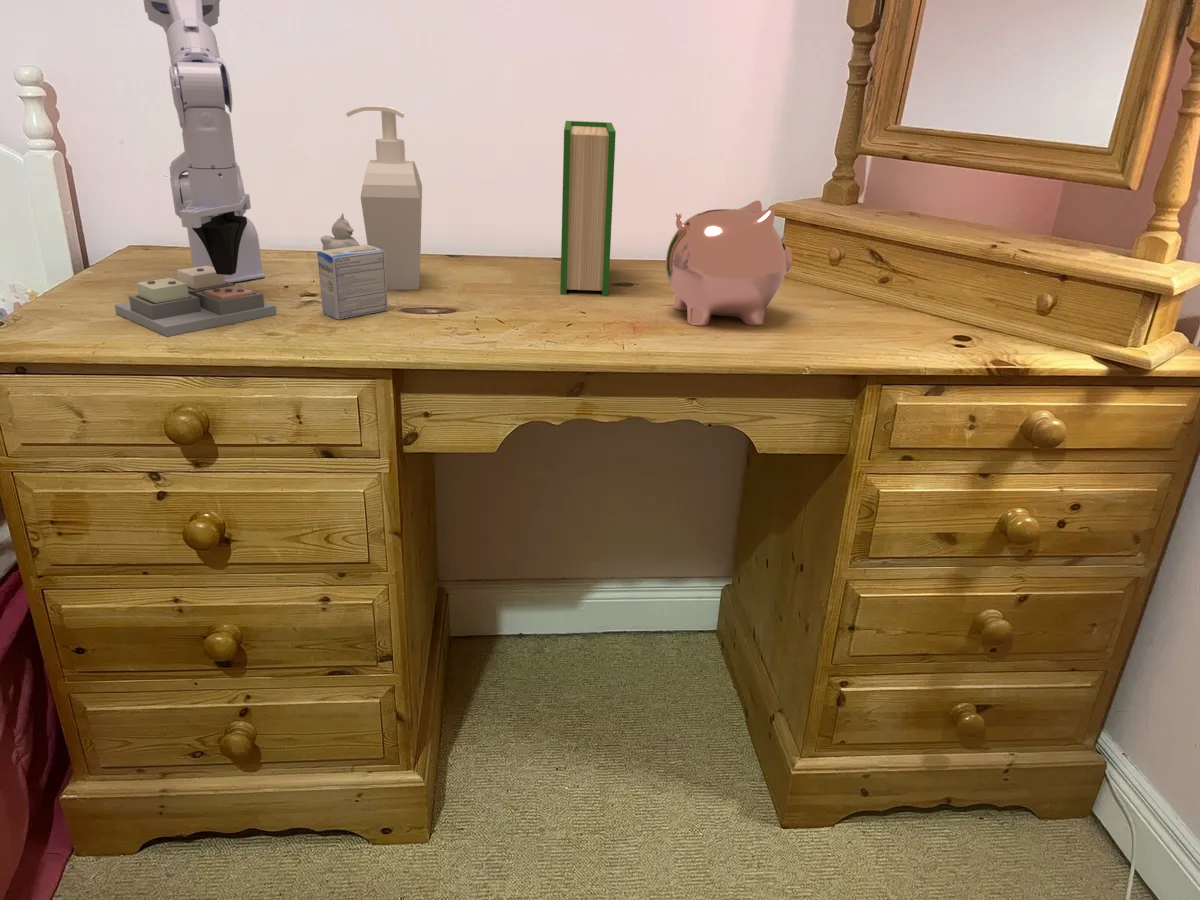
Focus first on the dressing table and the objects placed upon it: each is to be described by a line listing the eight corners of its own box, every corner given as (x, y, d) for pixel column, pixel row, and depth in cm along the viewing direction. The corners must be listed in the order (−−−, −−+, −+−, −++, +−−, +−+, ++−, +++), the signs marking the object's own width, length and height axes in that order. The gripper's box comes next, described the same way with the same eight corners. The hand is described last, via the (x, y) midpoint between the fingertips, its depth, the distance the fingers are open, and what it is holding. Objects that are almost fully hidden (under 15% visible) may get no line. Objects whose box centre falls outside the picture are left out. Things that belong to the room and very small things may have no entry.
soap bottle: (362, 273, 143) (350, 102, 132) (425, 274, 144) (418, 105, 133) (355, 293, 131) (341, 108, 121) (423, 293, 133) (416, 110, 122)
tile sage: (172, 291, 117) (170, 276, 116) (188, 297, 114) (186, 282, 114) (138, 296, 114) (136, 281, 113) (155, 303, 111) (152, 287, 111)
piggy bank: (801, 330, 123) (817, 213, 117) (676, 331, 120) (685, 212, 114) (764, 301, 137) (777, 196, 130) (652, 302, 134) (659, 194, 127)
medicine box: (372, 304, 126) (368, 243, 123) (389, 311, 123) (385, 249, 120) (321, 313, 121) (315, 250, 117) (338, 321, 118) (332, 256, 115)
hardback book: (608, 296, 136) (615, 131, 126) (560, 294, 136) (564, 129, 126) (605, 270, 152) (611, 122, 142) (562, 268, 152) (565, 120, 142)
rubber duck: (354, 263, 149) (351, 215, 146) (316, 261, 149) (312, 213, 146) (365, 257, 154) (361, 210, 151) (328, 255, 154) (324, 208, 151)
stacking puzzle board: (222, 294, 128) (220, 274, 126) (276, 314, 120) (274, 292, 118) (116, 313, 117) (111, 291, 116) (167, 336, 109) (163, 312, 108)
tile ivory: (209, 278, 124) (207, 264, 123) (225, 284, 121) (223, 269, 121) (178, 283, 121) (176, 268, 120) (194, 289, 118) (192, 274, 117)
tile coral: (237, 298, 121) (235, 283, 120) (254, 304, 118) (252, 290, 117) (206, 303, 117) (204, 289, 117) (223, 310, 115) (221, 295, 114)
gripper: (208, 157, 117) (222, 259, 123) (149, 171, 104) (167, 284, 110) (260, 160, 117) (271, 262, 123) (207, 175, 104) (222, 288, 109)
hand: (226, 273), depth 116 cm, fingers closed
